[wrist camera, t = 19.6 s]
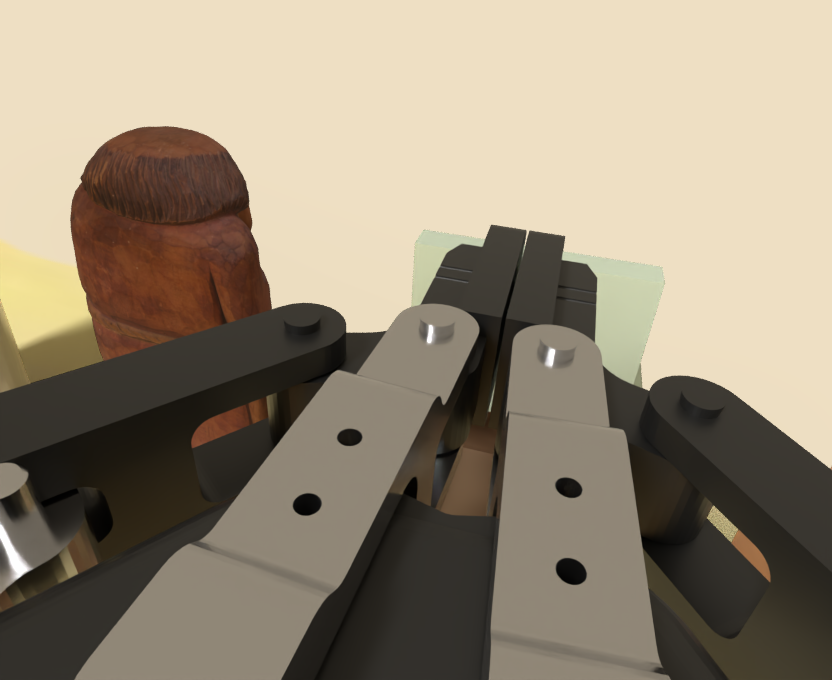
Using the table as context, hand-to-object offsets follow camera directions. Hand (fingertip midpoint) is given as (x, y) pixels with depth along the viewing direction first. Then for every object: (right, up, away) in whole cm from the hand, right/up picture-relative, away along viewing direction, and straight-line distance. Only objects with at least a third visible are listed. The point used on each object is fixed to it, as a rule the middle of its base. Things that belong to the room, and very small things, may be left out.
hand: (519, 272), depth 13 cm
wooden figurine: (-15, -7, +25) cm, 30 cm away
